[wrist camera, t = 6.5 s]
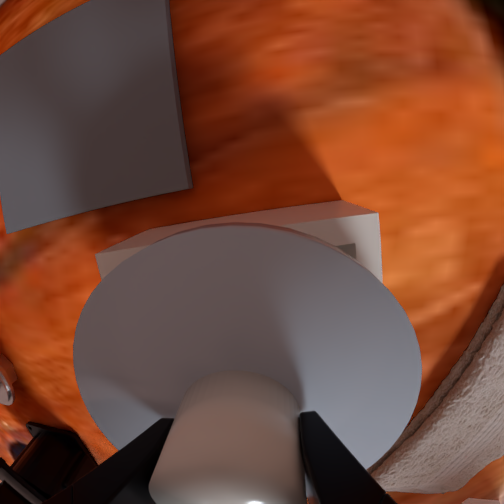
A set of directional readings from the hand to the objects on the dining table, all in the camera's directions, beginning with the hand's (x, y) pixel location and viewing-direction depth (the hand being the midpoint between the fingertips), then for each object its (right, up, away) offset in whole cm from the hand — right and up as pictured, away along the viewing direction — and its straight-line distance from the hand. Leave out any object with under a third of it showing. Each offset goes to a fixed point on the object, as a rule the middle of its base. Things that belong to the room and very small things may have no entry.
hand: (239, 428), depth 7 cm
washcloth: (+17, -6, +9) cm, 20 cm away
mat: (-9, +12, +6) cm, 17 cm away
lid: (0, 0, +1) cm, 1 cm away
